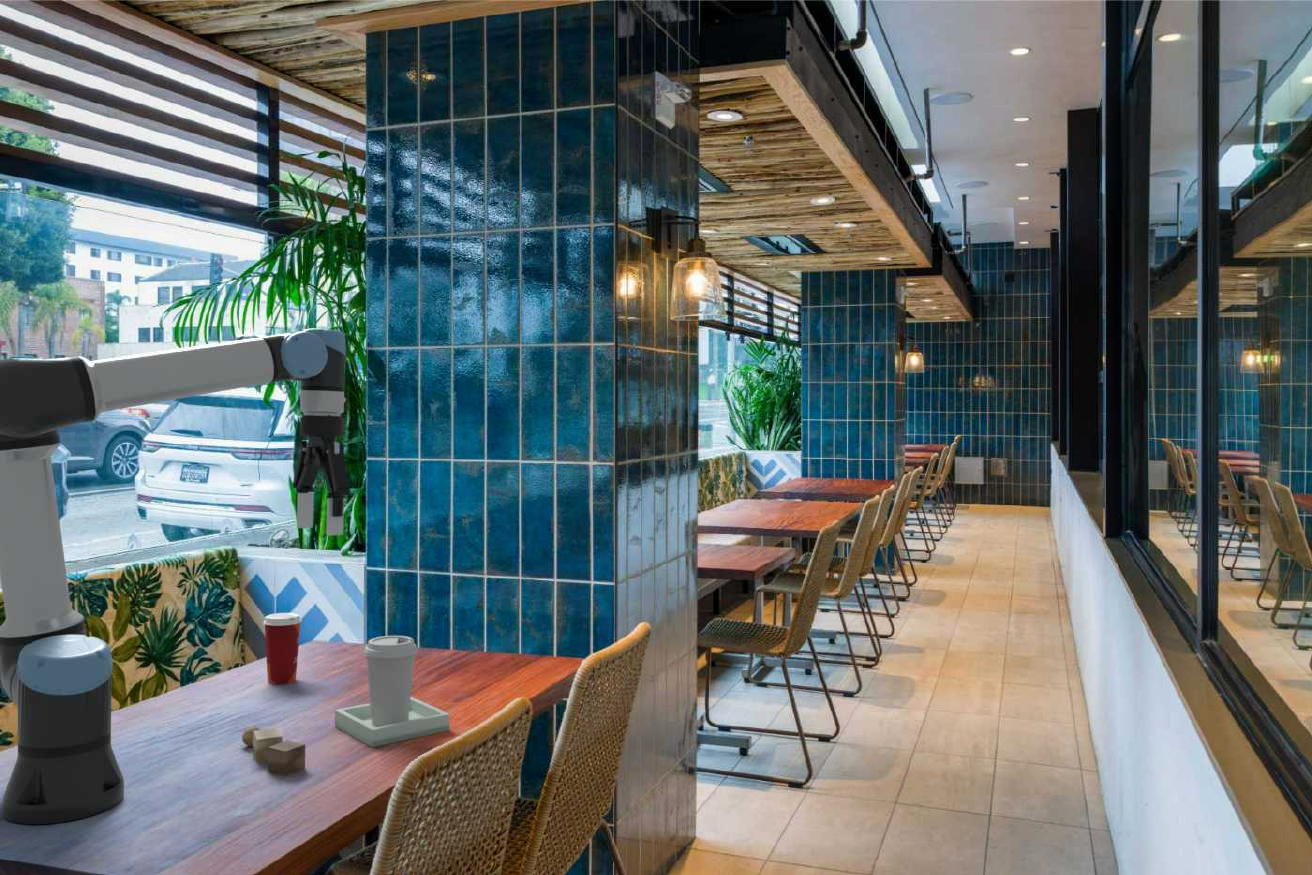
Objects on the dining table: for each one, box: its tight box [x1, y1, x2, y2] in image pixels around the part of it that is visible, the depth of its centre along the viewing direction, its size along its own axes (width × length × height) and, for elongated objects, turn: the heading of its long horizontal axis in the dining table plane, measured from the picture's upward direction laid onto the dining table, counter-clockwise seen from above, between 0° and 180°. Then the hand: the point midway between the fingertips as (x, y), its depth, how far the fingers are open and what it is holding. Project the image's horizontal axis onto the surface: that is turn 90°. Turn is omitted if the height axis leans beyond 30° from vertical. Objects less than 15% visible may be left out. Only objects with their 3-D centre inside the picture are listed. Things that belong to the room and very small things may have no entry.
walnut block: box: [267, 739, 306, 777], centre depth 160 cm, size 4×4×4 cm
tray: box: [334, 696, 451, 748], centre depth 182 cm, size 15×15×3 cm
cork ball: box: [241, 726, 261, 747], centre depth 171 cm, size 3×3×3 cm
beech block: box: [252, 727, 284, 764], centre depth 166 cm, size 4×5×4 cm
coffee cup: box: [363, 635, 419, 727], centre depth 183 cm, size 10×10×15 cm
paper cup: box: [263, 612, 303, 685], centre depth 213 cm, size 8×8×14 cm
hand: (319, 531), depth 182 cm, fingers open, 13 cm apart
